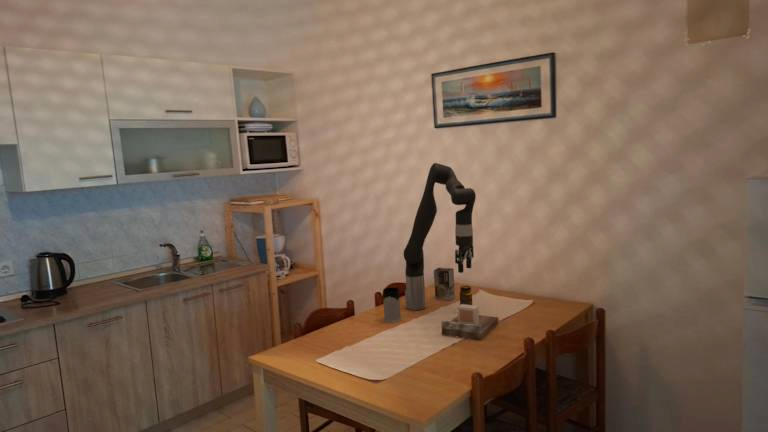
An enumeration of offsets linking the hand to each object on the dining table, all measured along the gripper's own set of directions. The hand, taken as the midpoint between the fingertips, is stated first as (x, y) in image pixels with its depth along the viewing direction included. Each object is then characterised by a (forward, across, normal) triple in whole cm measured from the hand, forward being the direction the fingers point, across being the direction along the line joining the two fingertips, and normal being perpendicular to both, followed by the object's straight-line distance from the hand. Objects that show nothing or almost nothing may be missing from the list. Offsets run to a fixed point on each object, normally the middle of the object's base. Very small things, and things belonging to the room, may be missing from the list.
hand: (464, 270), depth 231 cm
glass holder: (+27, +1, -38) cm, 47 cm away
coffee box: (+27, -37, -29) cm, 54 cm away
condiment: (+27, -22, -10) cm, 36 cm away
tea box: (+23, +3, +2) cm, 24 cm away
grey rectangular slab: (+26, 0, +2) cm, 27 cm away
